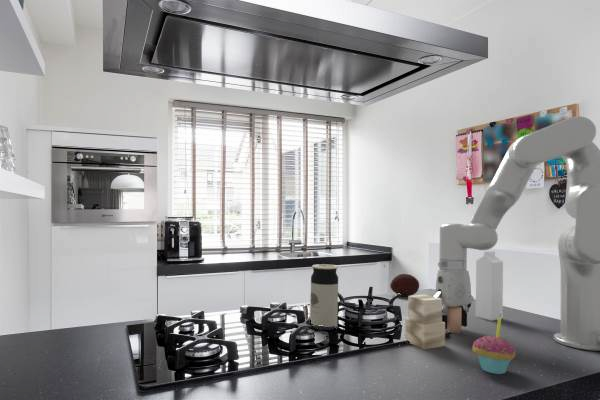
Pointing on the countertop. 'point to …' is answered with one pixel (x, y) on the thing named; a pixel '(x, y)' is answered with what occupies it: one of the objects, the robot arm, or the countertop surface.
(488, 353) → the cupcake
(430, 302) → the tower top
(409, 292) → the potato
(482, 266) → the milk
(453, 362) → the countertop surface
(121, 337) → the countertop surface
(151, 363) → the countertop surface
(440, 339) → the tower base
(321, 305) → the travel mug
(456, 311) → the terracotta cylinder
